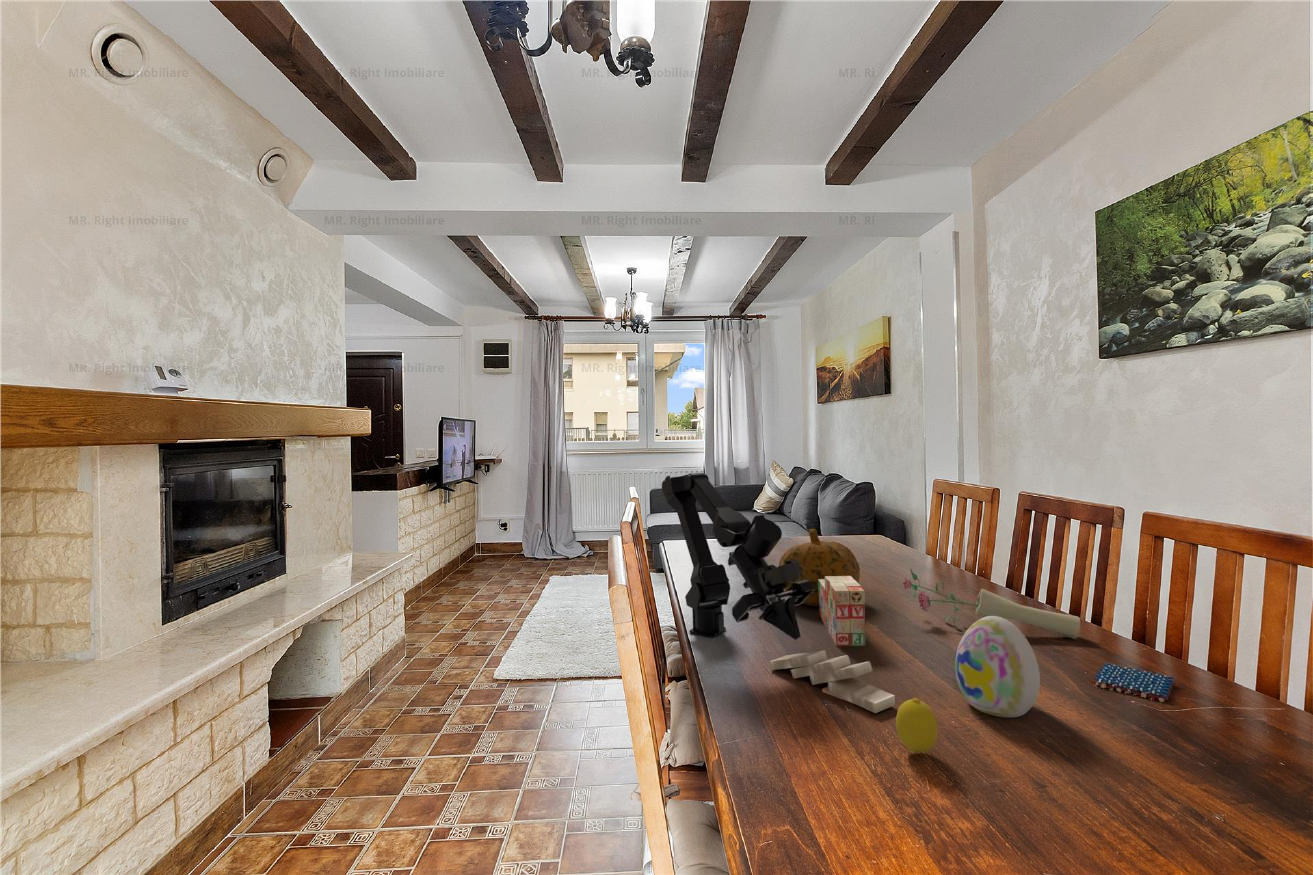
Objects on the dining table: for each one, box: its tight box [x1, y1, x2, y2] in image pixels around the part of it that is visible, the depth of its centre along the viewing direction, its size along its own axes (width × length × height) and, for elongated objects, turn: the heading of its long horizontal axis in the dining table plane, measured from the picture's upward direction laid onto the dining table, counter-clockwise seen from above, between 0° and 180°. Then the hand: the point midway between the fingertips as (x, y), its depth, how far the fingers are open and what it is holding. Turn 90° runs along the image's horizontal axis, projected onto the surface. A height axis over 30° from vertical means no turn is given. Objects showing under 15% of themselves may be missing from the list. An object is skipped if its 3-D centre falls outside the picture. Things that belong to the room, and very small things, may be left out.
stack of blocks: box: [818, 576, 866, 647], centre depth 140 cm, size 21×6×12 cm, turn 175°
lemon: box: [895, 697, 939, 755], centre depth 87 cm, size 6×6×8 cm
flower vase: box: [902, 567, 1081, 640], centre depth 137 cm, size 12×12×35 cm
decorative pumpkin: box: [778, 528, 861, 607], centre depth 163 cm, size 20×21×20 cm
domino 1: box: [769, 649, 828, 671], centre depth 116 cm, size 2×5×10 cm
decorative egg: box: [954, 616, 1041, 718], centre depth 101 cm, size 12×12×15 cm
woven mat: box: [1091, 662, 1176, 703], centre depth 107 cm, size 10×11×2 cm
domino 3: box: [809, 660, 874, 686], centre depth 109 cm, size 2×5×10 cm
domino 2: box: [790, 654, 852, 679], centre depth 112 cm, size 2×5×10 cm
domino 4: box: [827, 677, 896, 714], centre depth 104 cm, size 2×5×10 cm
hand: (798, 638), depth 116 cm, fingers closed
